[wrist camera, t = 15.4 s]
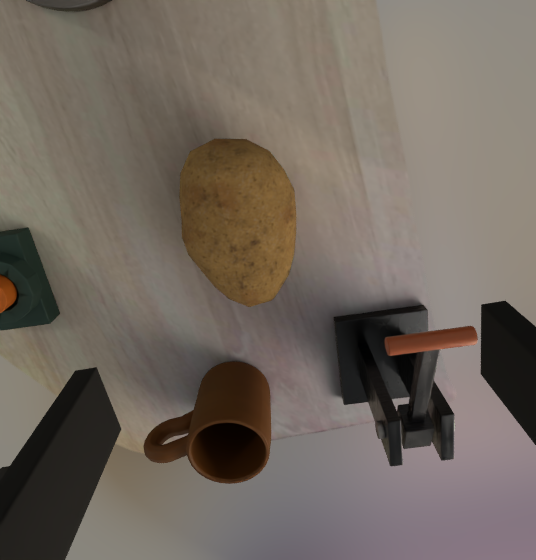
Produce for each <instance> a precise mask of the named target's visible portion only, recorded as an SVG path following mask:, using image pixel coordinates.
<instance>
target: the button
mask: <svg viewBox="0 0 536 560" xmlns="http://www.w3.org/2000/svg"><path fill="white" fill-rule="evenodd" d="M16 298H17V290H16V287H15V285H14V284H13V282H12V281H11V280H10V279H8V278H7V277H5V276H3V275H0V313H2V312H3V311H4V310H6V309H7V308H8V307H9V306H11V305H12V304H13V303H14V302H15V301H16Z"/></svg>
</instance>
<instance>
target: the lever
mask: <svg viewBox="0 0 536 560" xmlns="http://www.w3.org/2000/svg"><path fill="white" fill-rule="evenodd" d="M477 340H478V339H477V333H476V330H475V328H474V327H472V326H466V327H459V328H452V329H443V330H436V331H428V332H421V333H413V334H406V335H398V336H391V337H386V338H385V348H386V352H387V354H388V355H389V356H393V355H400V354H408V353H416V352H417V355H416V361H415V368H414V374H413V380H412V387H411V393H410V399H409V404H404V405H398V409H397V413H398V416H399V418H400V421H401V437H402V445H403V448H404V449H407V448H415V447H423V446H430V445H431V442H432V438H433V434H434V430H435V428H434V425H433V423H432V420H431V417H430V414H429V412H428V409H427V408H428V403H429V399H430V394H431V390H432V385H433V380H434V376H435V371H436V367H437V362H438V357H439V353H440V349H445V348H453V347H462V346H469V345H475V344H477Z"/></svg>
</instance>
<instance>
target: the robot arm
mask: <svg viewBox="0 0 536 560" xmlns="http://www.w3.org/2000/svg"><path fill="white" fill-rule="evenodd" d="M26 1H29V2H31V3H33V4H35V5H38V6H41V7H44V8H48V9H52V10H57V11H84V10H89V9H93V8H96V7H99V6H102V5H104V4H106V3H108V2H110V1H112V0H26ZM481 306H482V307H481V375H482V376H483V377H484V379H485V380H486V381H487V383H488V384H489V385H490V387H491V388H492V389H493V390H494V392H495V393H496V394H497V396H498V397H499V398H500V400H501V401H502V402H503V403H504V405H505V406H506V407H507V408H508V410H509V411H510V412H511V414H512V415H513V416H514V418H515V419H516V420H517V421H518V423H519V424H520V425H521V426H522V428H523V429H524V431H525V432H526V433H527V435H528V436H529V437H530V438H531V440H532V441H533V442H534V444H535V445H536V327H535V326H534V325H533V324H532V323H531V322H529V321H528V320H527V319H526V318H525V317H524V316H522V315H521V314H520V313H519V312H518V311H517V310H516V309H514V308H513V307H512V306H511V305H510V304H509V303H507V302H506V301H501V302H495V303H488V304H482V305H481ZM120 431H121V427H120V424H119V422H118V419H117V417H116V414H115V412H114V410H113V407H112V405H111V402H110V400H109V397H108V395H107V392H106V390H105V387H104V385H103V382H102V380H101V377H100V375H99V372H98V370H97V367H95V368H89V369H83V370H77V371H75V372H74V373H73V375H72V376H71V378H70V379H69V381H68V382H67V384H66V385H65V387H64V388H63V389H62V391H61V392H60V394H59V395H58V397H57V398H56V400H55V401H54V403H53V404H52V406H51V407H50V408H49V410H48V411H47V413H46V415H45V416H44V417H43V419H42V420H41V422H40V423H39V424H38V426H37V427H36V429H35V430H34V432H33V433H32V435H31V436H30V438H29V439H28V440H27V442H26V443H25V445H24V446H23V448H22V449H21V451H20V452H19V454H18V455H17V456H16V458H15V459H14V461H13V462H12V464H11V465H10V466H8V467H2V468H1V469H0V560H65V558H66V556H67V554H68V551H69V549H70V547H71V544H72V542H73V540H74V537H75V535H76V533H77V531H78V528H79V526H80V524H81V521H82V519H83V517H84V514H85V512H86V510H87V507H88V505H89V502H90V500H91V498H92V496H93V493H94V491H95V489H96V486H97V484H98V482H99V479H100V477H101V475H102V472H103V470H104V468H105V465H106V463H107V461H108V458H109V456H110V454H111V451H112V449H113V447H114V445H115V442H116V440H117V438H118V435H119V433H120Z"/></svg>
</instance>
